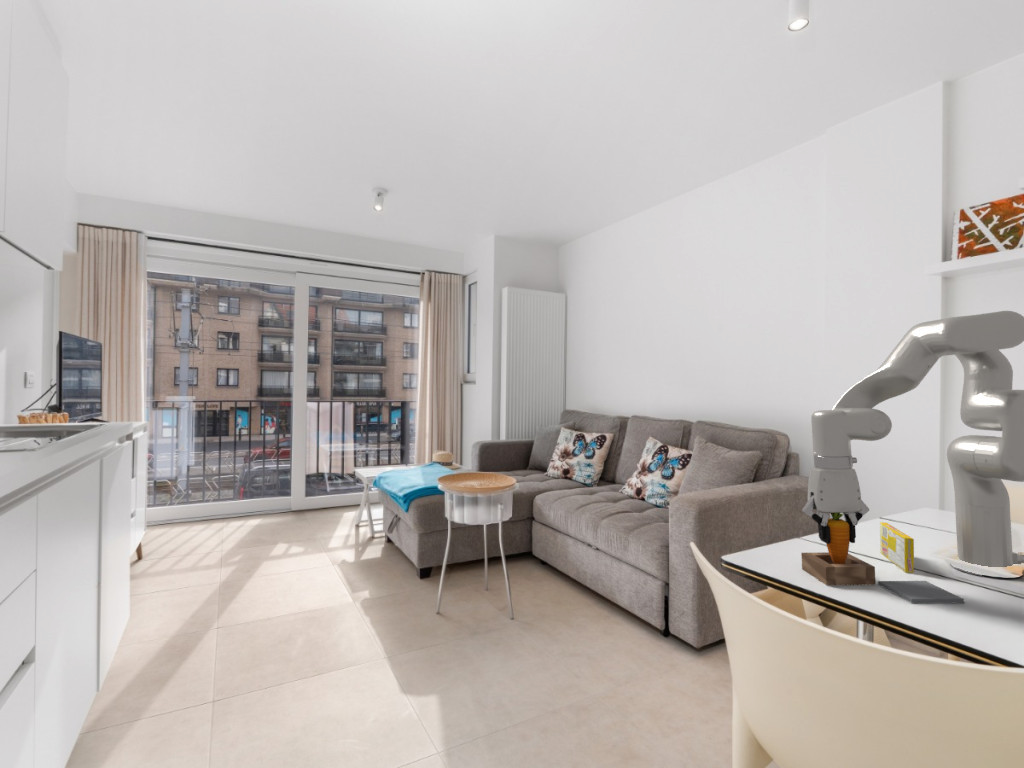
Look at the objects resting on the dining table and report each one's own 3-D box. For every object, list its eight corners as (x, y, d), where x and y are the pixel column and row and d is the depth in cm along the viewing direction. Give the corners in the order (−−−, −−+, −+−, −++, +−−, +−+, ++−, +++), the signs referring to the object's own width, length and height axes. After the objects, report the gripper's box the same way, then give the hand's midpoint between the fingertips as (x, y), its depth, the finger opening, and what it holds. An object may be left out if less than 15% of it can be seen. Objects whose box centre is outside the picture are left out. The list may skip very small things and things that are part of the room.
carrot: (826, 563, 120) (822, 500, 120) (851, 566, 117) (847, 502, 118) (826, 570, 116) (822, 505, 116) (852, 573, 113) (848, 506, 113)
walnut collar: (846, 569, 121) (846, 552, 121) (875, 585, 111) (874, 566, 111) (802, 569, 122) (801, 552, 122) (826, 585, 111) (825, 567, 111)
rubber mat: (925, 584, 110) (925, 580, 110) (963, 602, 100) (963, 598, 100) (878, 584, 111) (878, 581, 111) (911, 603, 101) (911, 599, 101)
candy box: (916, 574, 117) (914, 538, 117) (905, 573, 118) (903, 537, 118) (889, 553, 132) (887, 521, 133) (879, 552, 133) (878, 521, 133)
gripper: (860, 459, 120) (864, 536, 120) (787, 462, 121) (791, 538, 121) (881, 464, 113) (886, 545, 112) (803, 466, 114) (808, 547, 113)
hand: (837, 540), depth 117 cm, fingers closed on carrot, 4 cm apart
